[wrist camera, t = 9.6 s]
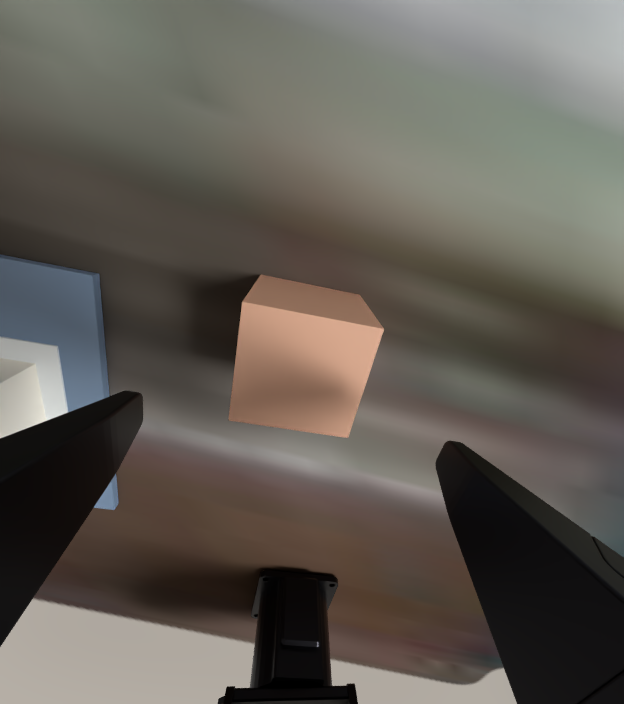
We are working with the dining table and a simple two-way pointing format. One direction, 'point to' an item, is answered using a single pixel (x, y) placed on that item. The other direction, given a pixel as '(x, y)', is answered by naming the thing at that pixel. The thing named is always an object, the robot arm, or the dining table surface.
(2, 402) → the cream block
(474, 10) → the dining table surface
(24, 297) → the board
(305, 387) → the terracotta block
